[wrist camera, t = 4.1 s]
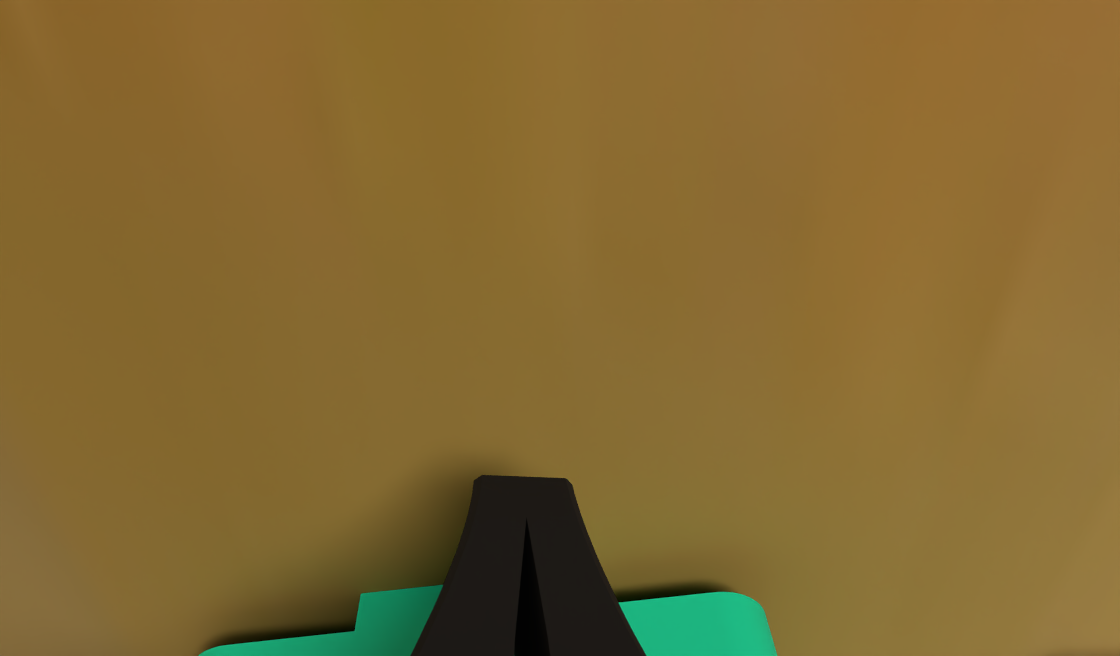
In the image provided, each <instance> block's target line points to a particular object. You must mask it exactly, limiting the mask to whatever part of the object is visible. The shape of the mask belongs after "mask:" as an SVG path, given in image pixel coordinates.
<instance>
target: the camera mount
mask: <svg viewBox="0 0 1120 656" xmlns="http://www.w3.org/2000/svg"><path fill="white" fill-rule="evenodd" d="M442 587H443V585H436V586H426V587H417V588H408V589H399V590H389V591H380V592H371V593H362V594H361V596H360V602H359V608H358V613H357V619H356V625H355V631H351V632H342V633H333V634H323V635H314V636H305V637H296V638H286V639H277V640H268V641H259V642H249V643H240V644H231V645H223V646H218V647H214V648H211V649H209V650H206V651H204V652H203V653H201V654H200V655H198V656H410V655H411V653H412V651H413V649H414V647H415V645H416V643H417V641H418V639H419V637H420V635H421V633H422V631H423V628H424V626H425V624H426V622H427V620H428V618H429V616H430V614H431V612H432V610H433V607H434V605H435V603H436V601H437V599H438V596H439V594H440V592H441V589H442ZM619 605H620V607H621V609H622V611H623V613H624V615H625V617H626V619H627V621H628V623H629V625H630V626H631V628H632V630H633V632H634V634H635V636H636V638H637V639H638V641H639V643H640V645H641V647H642V648H643V650H644V652H645V654H646V656H777V653H776V649H775V646H774V642H773V639H772V636H771V632H770V629H769V625H768V622H767V618H766V615H765V612H764V610H763V608H762V607H761V605H760V604H759V603H757V602H756V601H755V600H753V599H752V598H750V597H747V596H745V595H742V594H738V593H732V592H712V593H702V594H693V595H684V596H675V597H665V598H656V599H647V600H638V601H629V602H619Z"/></svg>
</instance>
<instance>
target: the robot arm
mask: <svg viewBox="0 0 1120 656" xmlns="http://www.w3.org/2000/svg"><path fill="white" fill-rule="evenodd" d="M410 656H646V654H645V652H644V650H643V648H642V647H641V645H640V643H639V641H638V639H637V638H636V636H635V634H634V632H633V630H632V628H631V626H630V625H629V623H628V621H627V619H626V617H625V615H624V613H623V611H622V609H621V607H620V605H619V603H618V601H617V598H616V596H615V594H614V592H613V590H612V588H611V586H610V584H609V582H608V580H607V577H606V575H605V573H604V571H603V569H602V567H601V564H600V562H599V560H598V557H597V555H596V553H595V550H594V548H593V545H592V543H591V540H590V538H589V535H588V533H587V530H586V527H585V525H584V522H583V519H582V516H581V513H580V510H579V507H578V504H577V501H576V497H575V494H574V490H573V486H572V484H571V483H570V482H569V481H568V480H567V479H566V478H544V477H519V476H493V475H482V476H480V477H478V478H477V479H475V480H474V484H473V493H472V499H471V503H470V508H469V512H468V516H467V520H466V523H465V527H464V530H463V533H462V536H461V539H460V542H459V545H458V548H457V551H456V554H455V556H454V559H453V561H452V564H451V566H450V569H449V572H448V574H447V577H446V579H445V582H444V584H443V587H442V589H441V592H440V594H439V596H438V599H437V601H436V603H435V605H434V607H433V610H432V612H431V614H430V616H429V618H428V620H427V622H426V624H425V626H424V628H423V631H422V633H421V635H420V637H419V639H418V641H417V643H416V645H415V647H414V649H413V651H412V653H411V655H410Z"/></svg>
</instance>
